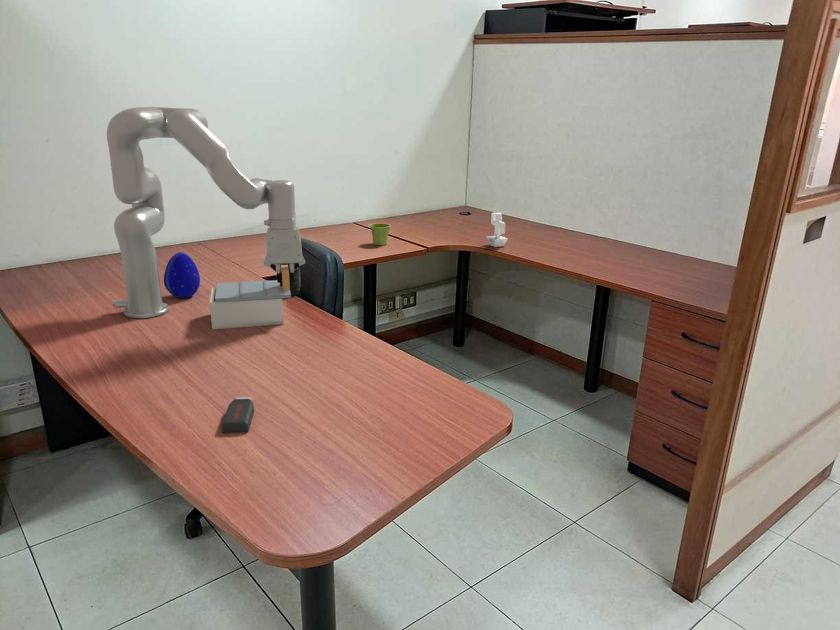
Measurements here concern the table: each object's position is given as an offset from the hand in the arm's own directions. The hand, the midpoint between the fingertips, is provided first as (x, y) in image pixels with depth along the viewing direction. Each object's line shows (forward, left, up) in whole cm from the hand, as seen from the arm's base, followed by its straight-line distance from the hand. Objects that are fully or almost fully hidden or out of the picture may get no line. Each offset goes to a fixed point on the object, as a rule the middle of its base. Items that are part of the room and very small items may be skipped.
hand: (285, 284), depth 185 cm
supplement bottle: (+2, +22, -10) cm, 24 cm away
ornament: (-32, +25, -10) cm, 42 cm away
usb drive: (-14, -61, -11) cm, 63 cm away
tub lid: (-9, 0, -2) cm, 10 cm away
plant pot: (+46, +87, -10) cm, 99 cm away
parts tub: (-12, 0, -10) cm, 15 cm away
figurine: (+98, +76, -10) cm, 125 cm away
